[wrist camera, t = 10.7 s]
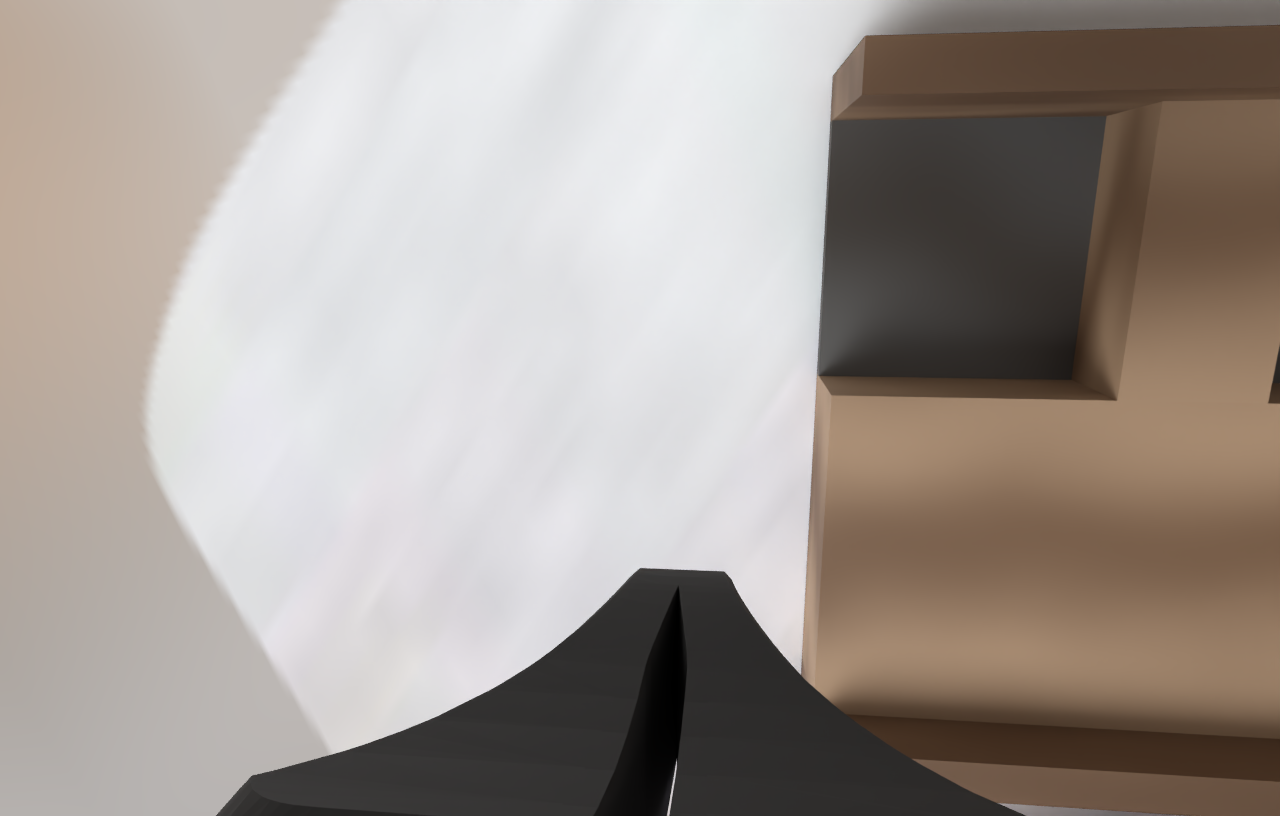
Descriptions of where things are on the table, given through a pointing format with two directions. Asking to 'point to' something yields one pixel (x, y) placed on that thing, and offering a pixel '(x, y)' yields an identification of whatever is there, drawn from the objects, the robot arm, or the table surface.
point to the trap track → (1055, 414)
